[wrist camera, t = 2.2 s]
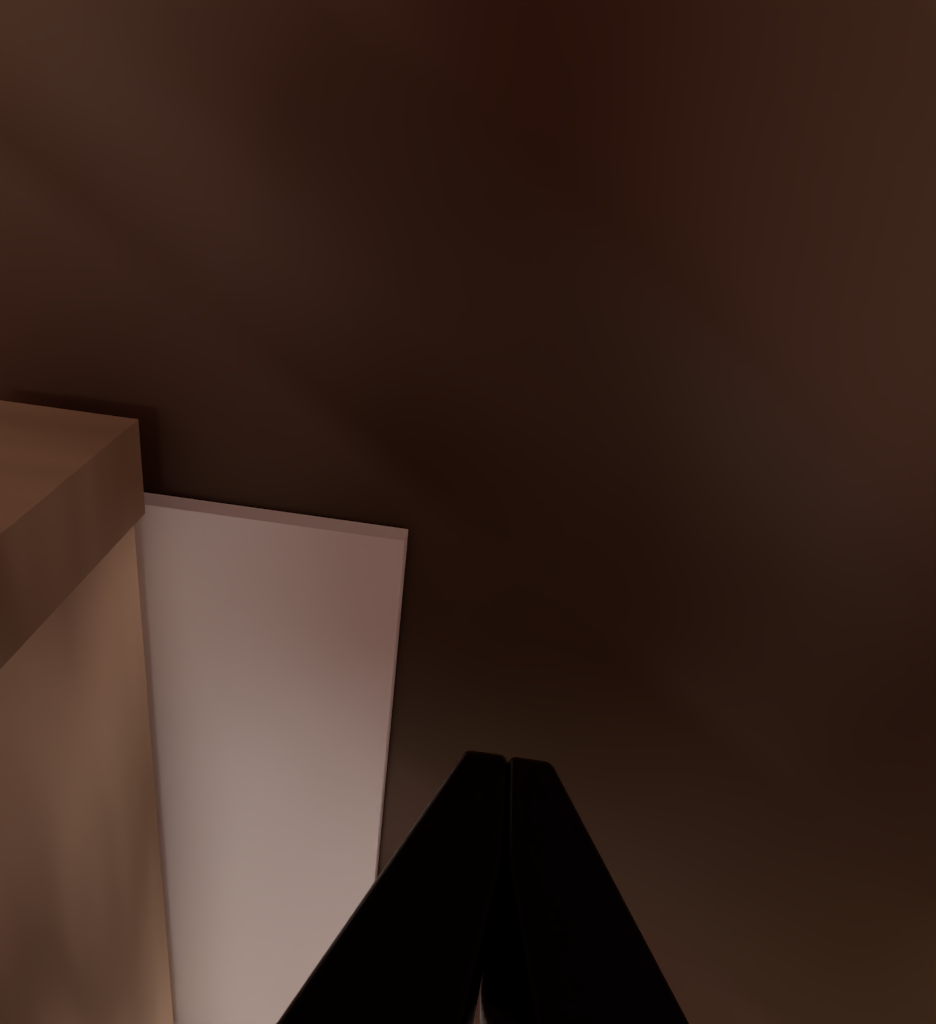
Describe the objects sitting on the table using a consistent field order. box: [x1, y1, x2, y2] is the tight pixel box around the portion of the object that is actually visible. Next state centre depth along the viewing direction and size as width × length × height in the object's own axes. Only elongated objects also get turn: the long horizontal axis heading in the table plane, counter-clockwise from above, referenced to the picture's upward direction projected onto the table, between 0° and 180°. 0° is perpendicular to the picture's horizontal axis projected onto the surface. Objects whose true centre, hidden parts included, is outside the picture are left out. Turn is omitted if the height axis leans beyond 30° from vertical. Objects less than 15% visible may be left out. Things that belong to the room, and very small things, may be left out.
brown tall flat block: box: [0, 400, 174, 1024], centre depth 10 cm, size 13×2×6 cm, turn 174°
